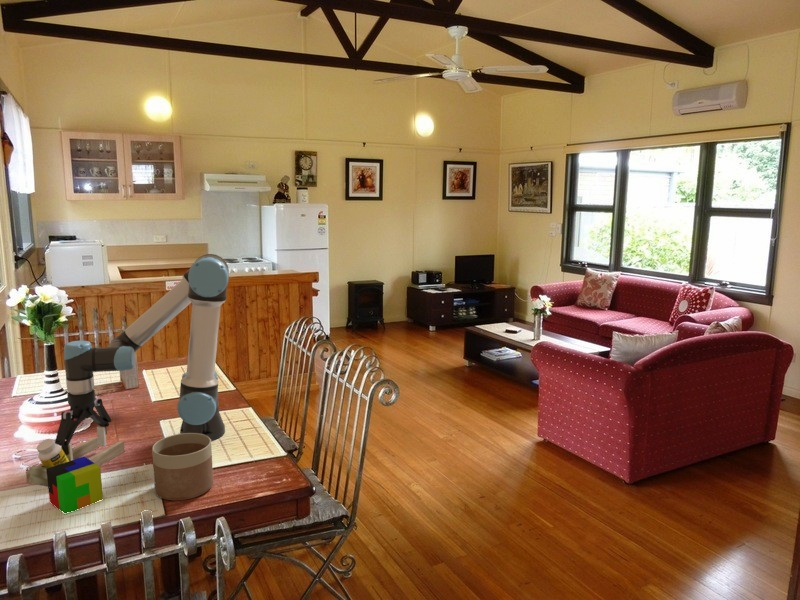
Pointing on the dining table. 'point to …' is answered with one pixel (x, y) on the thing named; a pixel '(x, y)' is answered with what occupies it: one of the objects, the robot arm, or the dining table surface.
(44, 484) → the guide channel
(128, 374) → the cracker box
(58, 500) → the puzzle toy
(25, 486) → the dining table surface
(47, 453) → the pill bottle
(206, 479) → the planter
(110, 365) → the robot arm
